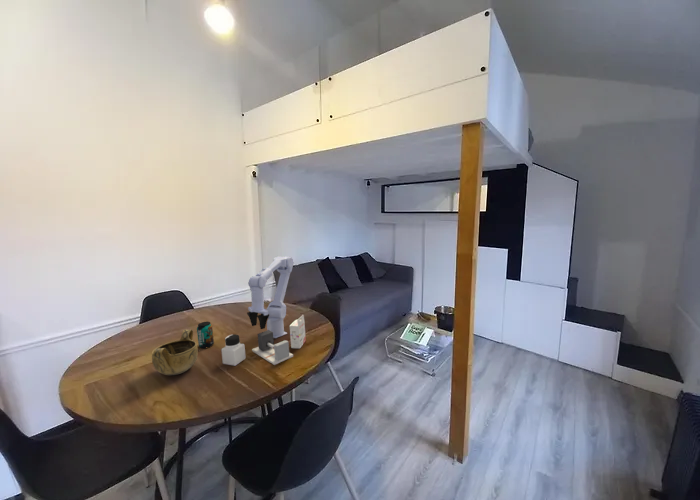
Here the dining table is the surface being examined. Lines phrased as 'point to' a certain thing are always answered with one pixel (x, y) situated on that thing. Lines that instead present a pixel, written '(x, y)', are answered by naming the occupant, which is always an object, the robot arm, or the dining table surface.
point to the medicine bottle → (233, 350)
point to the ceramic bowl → (176, 355)
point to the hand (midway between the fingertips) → (258, 327)
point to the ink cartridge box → (297, 333)
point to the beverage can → (205, 334)
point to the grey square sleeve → (265, 340)
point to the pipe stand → (275, 352)
